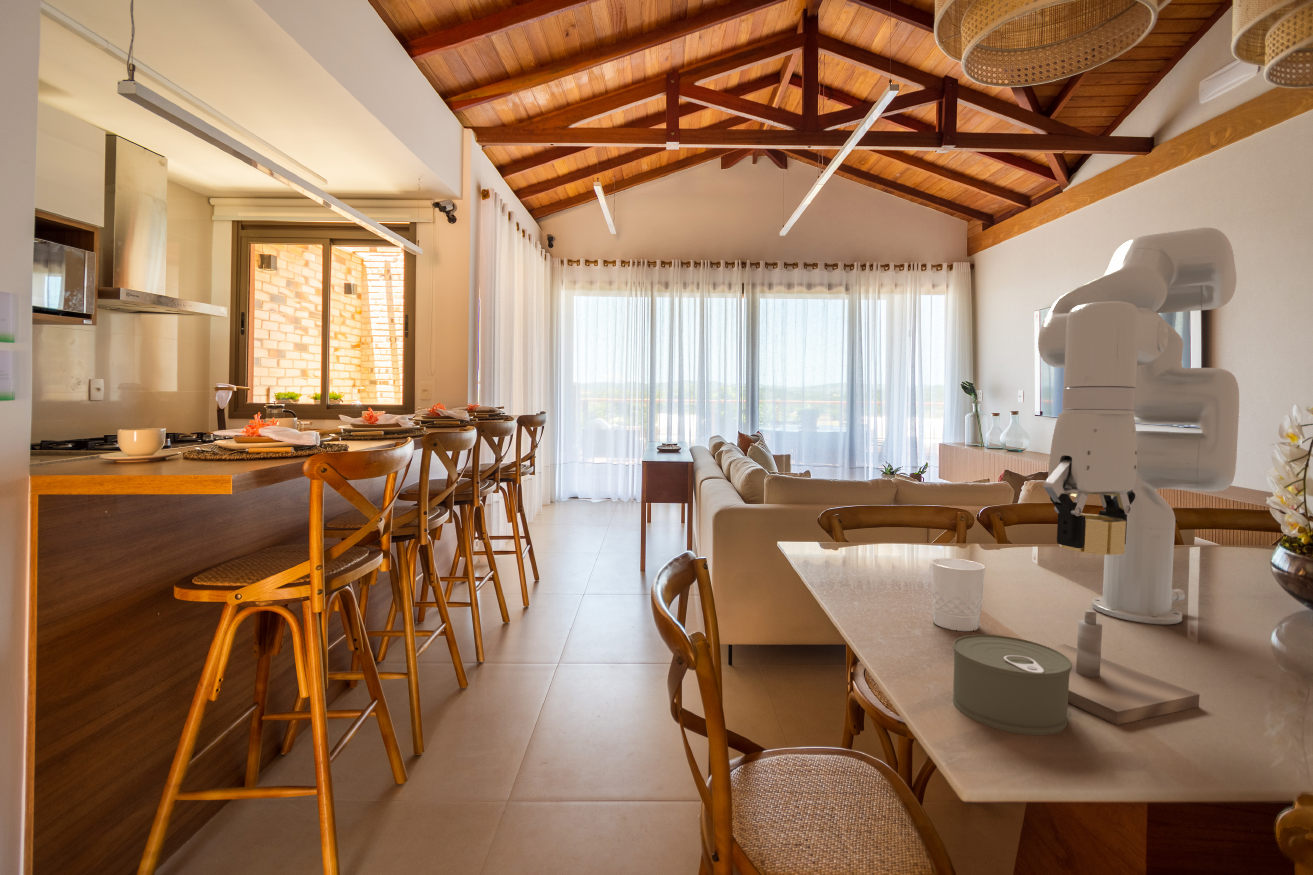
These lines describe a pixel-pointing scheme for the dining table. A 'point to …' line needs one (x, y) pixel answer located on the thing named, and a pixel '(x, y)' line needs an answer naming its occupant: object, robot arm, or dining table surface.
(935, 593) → the white cup
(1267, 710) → the dining table surface
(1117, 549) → the ring
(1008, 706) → the can
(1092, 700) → the post block
